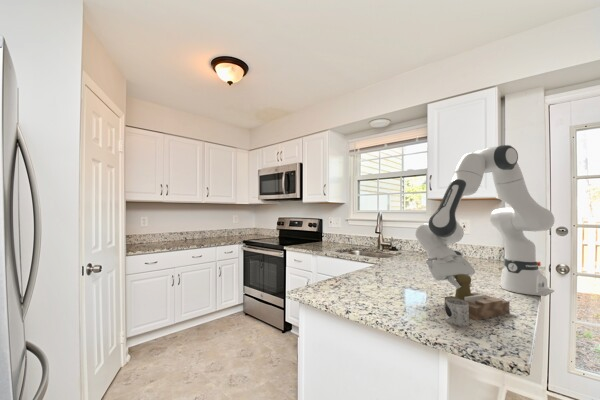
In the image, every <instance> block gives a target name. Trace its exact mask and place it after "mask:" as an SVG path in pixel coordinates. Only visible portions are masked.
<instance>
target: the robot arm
mask: <svg viewBox="0 0 600 400" xmlns="http://www.w3.org/2000/svg"><path fill="white" fill-rule="evenodd" d="M518 153H519V152H518V150H517V149H516V148H515V147H513V146H512V145H510V144H509V145H508V144H506V145H505V144H503V145H498V146H493V147H486V148H484V149H481V150H480V149H479V150H477V151H473V152H468V153H465V154H464V155H463V156H462V157H461V158H460V160H459V162H458V164H457V165H456V168H455V170H454V171H453V172H454V173H453V176H452V178H451V182H450V183H449V184H448V186H447V189H446V190H445V193H444V194H443V196H442V197H443V198H442V199H441V201H440V204H439V206H438V208H437V209H436V211H435V212H434V213H433V214H432V215H431V216H430V217H429V220H428V223H423V224H421V225H419V227H418V228H417V229H416V231H415V238H416V240H417V242H418V243H419V245H420V247H421V248H422V250H424V251H425V252H426V254H427V257H428V258H427V259H426V261H425V263H426V265H427V267H428V269H429V272H430V273H431V275H432V277H433V279H434V280H436V281H439V282H440V281H448V282H449V283H450V284H451V285H453V286H454V287H455V290H456V289H460V288H462V285H461V284H460V283H458V282H457V281H456V275H458V274H465V275H468V276H470V277H471V278H472V276H474V274H475V273H476V272H475V271H476V270H475V269H474V267H473V266H472V264H471V263H470V262H469V261H468V260H467V259H466V258H465V257H464V254H463V253H462V252H461V251H459V250H456V249H455V250H454V249H453V248H450V246H451V245H453V244H456V243H458V242H460V241H461V240H462V239H463V237H464V234H465V232H464V229H463V226H462V225H461V224H460V223H459V222H458V221H457V217H456V212H457V210H458V207H459V206H460V203H461V200H462V199H463V197H464V196H466V197H467V196H469V197H470V196H471V195H474V194H476V193H477V192H478V190H479V188H480V187H481V184H482V181H483V179H484V174H488V173H489V174H490V173H491V174H492V179H493V184H494V187H495V189H496V190H495V191H496V194H497V197H498V199H499V200H500V201H501V202H503V203H506V204H508V205H509V207H500V208H496V209H495V208H494V210H493V211H491V213H490V216H489V221H490V222H491V225H492V226H493V227H494V228H496V229H497V231H498V232H499V233H500V234H501V237H502V239H503V242H504V251H505V253H504V254H505V255H504V256H505V257H504V261H503V263H504V264H503V265H504V268H502V270H501V277H500V282H498V286H499V287H501V289H503V290H505V291H509V292H513V293H517V294H522V295H523V294H524V295H532V296H541V297H542V296H543V297H547V296H549V295H550V294H553V293H555V289H554V288H551V287H548V278H547V277H546V276H545V275H544V274H543V273H541V272H540V270H539V267H541V265H542V264H541V261H537V258H536V256H537V255H536V245H535V243H534V242H533V241H532V240H530V239H528V238H527V237H526V236H525V234H524V231H525V232H544V231H549V230H550V229H552V227H553V226H554V224H555V216H554V214H553V212H552V211H551V210H550V209H548V208H545V206H544V207H543V206H542V205H541V204H539V203H538V202H536V200H535V199H534V198H533V197H532V196H531V194H530V193H529V190H528V188H527V185H526V182H525V179H524V176H523V175H524V174H523V172H522V169H521V167H520V166H519V164H518V160H519V154H518ZM472 286H473V285H472V283H470V288H471V287H472Z"/></svg>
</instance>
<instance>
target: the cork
mask: <svg viewBox="0 0 600 400" xmlns="http://www.w3.org/2000/svg"><path fill="white" fill-rule="evenodd" d="M455 280H456V281H457V282H458V283H460V284H461V285H462V288H460V289H456V288H455V295H454V297H457V298H460V299H463V300H464V297H467V296H471V293H472V292H471V287H470V283H471V282H472V276H471V277H470V276H468V275H465V274H458V275H456V279H455ZM471 284H472V283H471Z"/></svg>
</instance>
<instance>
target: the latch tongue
mask: <svg viewBox="0 0 600 400" xmlns="http://www.w3.org/2000/svg"><path fill="white" fill-rule="evenodd" d="M481 294H482V293H481ZM481 294H480V295H474V296H467V297H464V300H466V301H469V302H472V303H475V301H477V300H483V299H484V295H485V294H484V295H481Z"/></svg>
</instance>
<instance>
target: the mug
mask: <svg viewBox="0 0 600 400" xmlns="http://www.w3.org/2000/svg"><path fill="white" fill-rule="evenodd" d="M444 310H445V312H444V314H445V315H444V316H445V322H446V323H448V324H449V325H452V326H455V327H462V328H463V327H464V328H465V327H468V326H469V325H470V324H469V323H470V319H469V303H468V302H466V301H463V300H459V299H446V300H445V299H444Z"/></svg>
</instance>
